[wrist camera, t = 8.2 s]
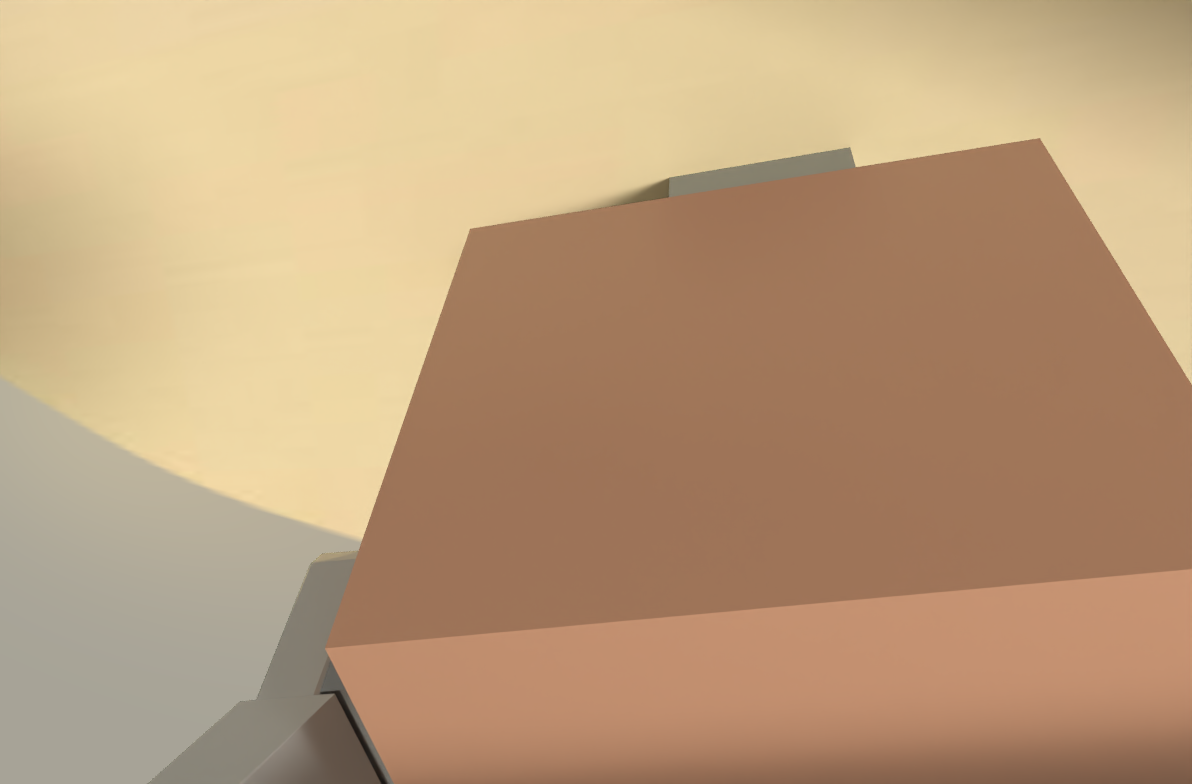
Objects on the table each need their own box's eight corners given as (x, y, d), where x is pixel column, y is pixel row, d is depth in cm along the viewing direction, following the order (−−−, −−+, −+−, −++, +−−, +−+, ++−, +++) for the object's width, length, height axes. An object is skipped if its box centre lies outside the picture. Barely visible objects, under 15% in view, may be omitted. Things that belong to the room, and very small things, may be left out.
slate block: (849, 146, 31) (873, 232, 27) (863, 300, 33) (887, 399, 29) (669, 176, 32) (666, 264, 27) (697, 324, 34) (698, 423, 30)
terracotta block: (1040, 138, 9) (1299, 559, 5) (1032, 563, 12) (1198, 1049, 8) (470, 228, 10) (325, 648, 6) (585, 605, 13) (536, 1063, 9)
